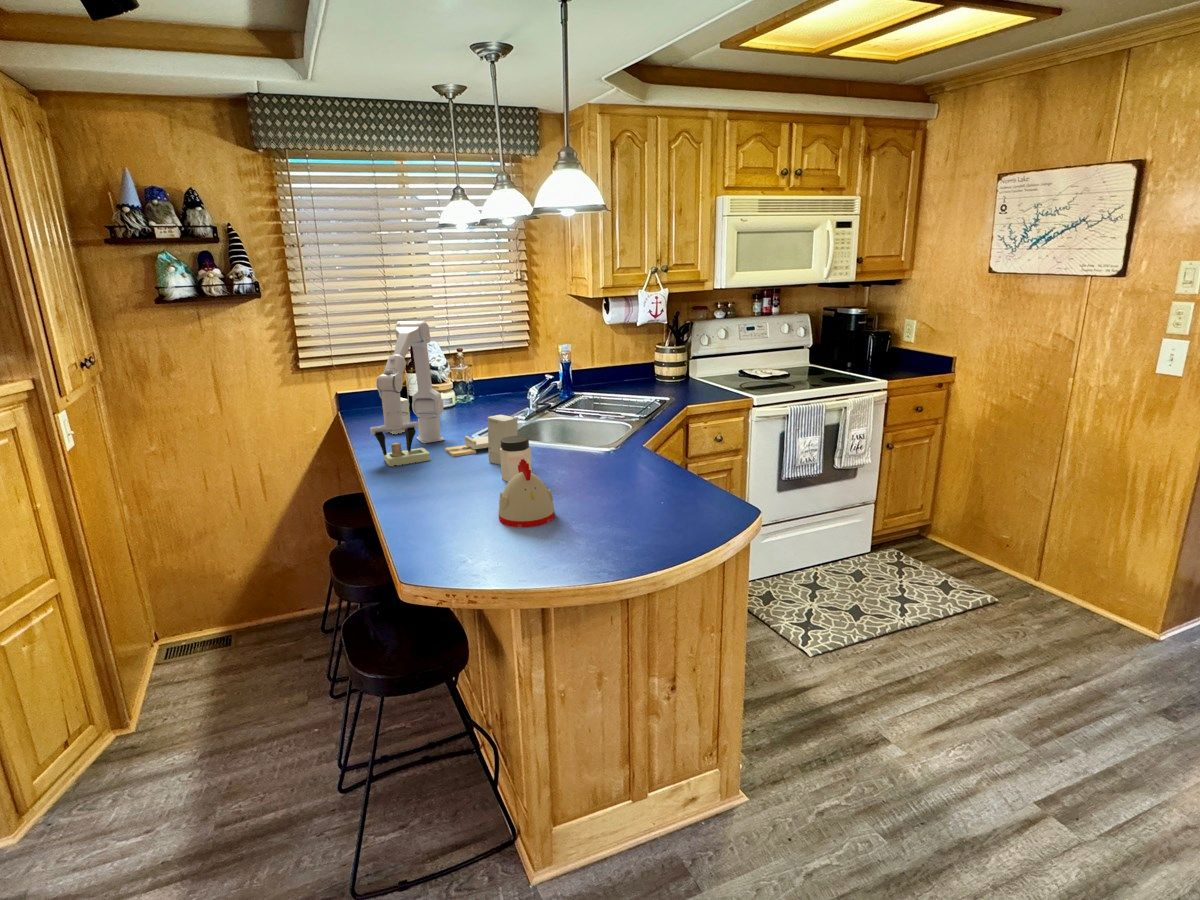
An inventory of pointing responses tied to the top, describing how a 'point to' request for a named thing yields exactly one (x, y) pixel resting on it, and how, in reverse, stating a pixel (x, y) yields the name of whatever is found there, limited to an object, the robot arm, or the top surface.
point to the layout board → (460, 450)
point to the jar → (514, 455)
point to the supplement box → (404, 414)
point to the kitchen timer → (525, 500)
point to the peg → (396, 449)
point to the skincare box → (499, 434)
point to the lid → (476, 442)
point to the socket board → (408, 457)
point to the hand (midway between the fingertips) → (397, 452)
